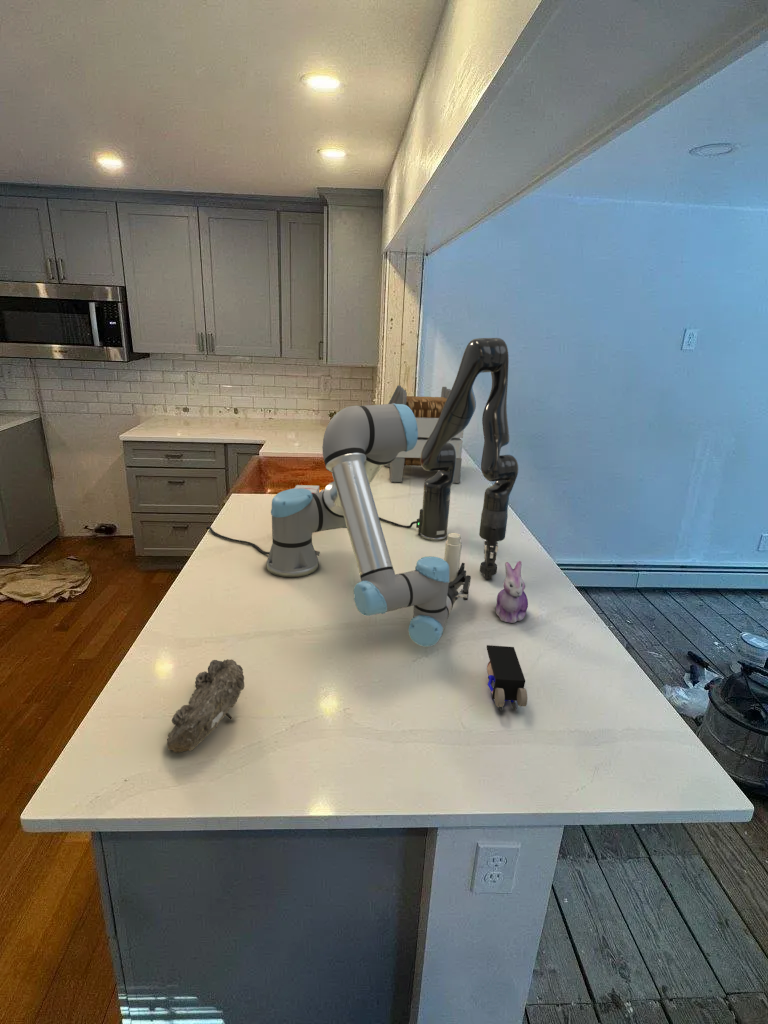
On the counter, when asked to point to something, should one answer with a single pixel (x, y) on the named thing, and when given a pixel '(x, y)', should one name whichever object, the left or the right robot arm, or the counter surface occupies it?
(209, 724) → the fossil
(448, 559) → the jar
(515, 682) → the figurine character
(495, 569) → the lid
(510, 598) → the figurine
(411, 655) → the counter surface
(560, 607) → the counter surface
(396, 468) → the transformer
